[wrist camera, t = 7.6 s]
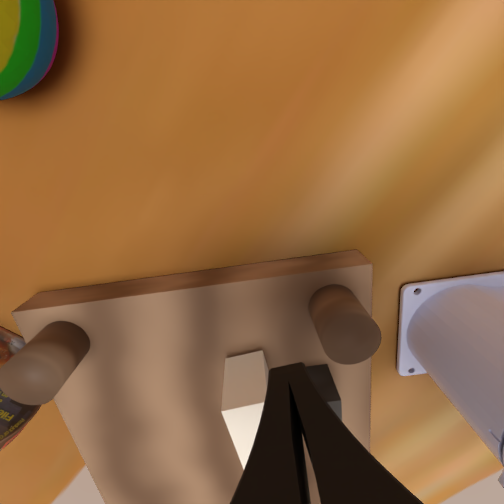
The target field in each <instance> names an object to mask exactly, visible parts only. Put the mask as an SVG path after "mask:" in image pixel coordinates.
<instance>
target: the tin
mask: <svg viewBox="0 0 504 504" xmlns="http://www.w3.org/2000/svg"><path fill="white" fill-rule="evenodd" d="M25 345H26V342H25V340H24V338H23V337H21V336H19V335H17V334H15V333H13V332H11V331H8V330H7V329H4V328H2V327H0V368H1V367H2V366H3V365H4V364H5V363H6V362H7V361H8V360H9V359H11V358H12V357H13V356H14V355H15V354H16V353H17V352H18V351H19V350H20V349H21V348H23V347H24V346H25ZM41 405H42V404H41ZM41 405H26V404H22V403H19V402H16V401H14V400H12V399H11V398H9V397H8V396H7V395H5V394H4V393H3V391H2V390H1V389H0V451H1V450H2V449H3V448H4V447H6V446H7V445H8V444H9V443H10V442H11V441H12V440H13V439H14V438H15V437H16V436H17V435H18V434H19V433H20V432H21V431H22V430H23V428H24V427H25V426H26V425H27V423H28V422H29V421H30V420H31V419H32V418H33V416H34V415H35V414H36V413H37V411H38V410H39V408H40V407H41Z"/></svg>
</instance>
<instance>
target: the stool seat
mask: <svg viewBox="0 0 504 504" xmlns="http://www.w3.org/2000/svg"><path fill="white" fill-rule="evenodd" d="M11 314H12V316H13V318H14V320H15V322H16V324H17V326H18V328H19V330H20V332H21V334H22V336H23V338H24V340H25V342H26V345H25V346H24V347H23V348H21V349H20V350H19V351H18V352H17V353H16V354H15V355H14V356H13V357H12V358H11V359H9V360H8V361H7V362H6V363H5V364H4V365H3V366H2V367H1V368H0V389H1V390H2V391H3V393H4V394H5V395H7V396H8V397H9V398H11V399H12V400H14V401H16V402H19V403H22V404H26V405H41V404H45V403H47V402H49V401H51V400H52V399H54V401H55V403H56V405H57V407H58V409H59V411H60V413H61V415H62V417H63V419H64V421H65V423H66V425H67V427H68V429H69V431H70V433H71V435H72V437H73V439H74V441H75V443H76V445H77V448H78V450H79V452H80V454H81V456H82V458H83V460H84V462H85V464H86V466H87V468H88V470H89V471H90V474H91V476H92V478H93V480H94V482H95V484H96V486H97V488H98V490H99V492H100V494H101V496H102V498H103V500H104V502H105V504H230V502H231V500H232V497H233V495H234V493H235V490H236V488H237V486H238V483H239V481H240V479H241V476H242V474H243V471H244V469H243V466H242V464H241V461H240V459H239V456H238V454H237V451H236V448H235V446H234V443H233V441H232V438H231V435H230V433H229V430H228V428H227V425H226V423H225V420H224V417H223V415H222V412H221V408H222V395H223V383H224V370H225V359H226V358H230V357H235V356H239V355H244V354H248V353H252V352H257V351H261V350H263V353H264V357H265V360H266V364H267V367H268V370H270V369H271V368H276V367H280V366H285V365H289V364H294V363H298V362H302V363H304V364H305V366H306V368H307V371H308V373H309V375H310V376H311V378H312V380H313V382H314V383H315V385H316V386H317V388H318V390H319V391H320V393H321V394H322V396H323V397H324V398H325V400H326V401H327V403H328V404H329V405H330V407H331V408H332V409H333V411H334V412H335V413H336V415H337V416H338V417H339V418H340V420H341V421H342V422H343V423H344V424H345V426H346V427H347V428H348V429H349V430H350V432H351V433H352V434H353V435H354V436H355V437H356V439H357V440H358V441H359V442H360V443H361V444H362V445H363V446H364V447H365V448H366V449H367V450H368V452H369V453H370V411H371V356H372V355H373V354H374V353H375V352H376V351H377V349H378V347H379V345H380V342H381V331H380V329H379V327H378V325H377V324H376V323H375V321H374V320H373V319H372V263H371V262H370V261H369V260H368V259H367V258H366V257H364V256H363V255H362V254H361V253H360V252H359V251H358V250H350V251H343V252H335V253H328V254H320V255H313V256H306V257H298V258H291V259H284V260H276V261H269V262H262V263H254V264H247V265H239V266H232V267H225V268H217V269H210V270H203V271H195V272H188V273H180V274H173V275H166V276H158V277H151V278H144V279H136V280H129V281H122V282H114V283H107V284H99V285H92V286H85V287H77V288H70V289H63V290H55V291H48V292H40V293H37V294H36V295H34V296H33V297H32V298H30V299H29V300H28V301H26V302H25V303H23V304H22V305H21V306H19V307H18V308H16V309H15V310H14V311H12V312H11ZM302 437H303V434H302ZM303 445H304V452H305V460H306V468H307V476H308V484H309V492H310V500H311V504H321V502H320V497H319V492H318V487H317V483H316V478H315V474H314V470H313V467H312V464H311V460H310V457H309V454H308V450H307V447H306V444H305V441H304V437H303Z"/></svg>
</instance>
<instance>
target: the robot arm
mask: <svg viewBox="0 0 504 504" xmlns="http://www.w3.org/2000/svg"><path fill="white" fill-rule="evenodd" d="M417 288H418V290H417V291H416V292H414V290H415V289H417ZM410 368H411V369H410ZM397 372H398V373H399V374H400V375H401V376H409V375H416V374H424V373H428V374H429V375H430V377H431V378H432V379H433V380H434V382H435V383H436V384H437V385H438V387H439V388H440V389H441V390H442V391H443V393H444V394H445V395H446V396H447V398H448V399H449V400H450V401H451V403H452V404H453V405H454V406H455V407H456V409H457V410H458V411H459V412H460V414H461V415H462V416H463V417H464V419H465V420H466V421H467V422H468V423H469V425H470V426H471V427H472V428H473V430H474V431H475V432H476V433H477V434H478V436H479V437H480V438H481V439H482V441H483V442H484V443H485V444H486V446H487V447H488V448H489V449H490V450H491V452H492V453H493V454H494V455H495V457H496V458H497V459H498V460H499V462H500V463H501V464H502V465H503V466H504V271H501V272H493V273H486V274H478V275H471V276H463V277H456V278H448V279H441V280H433V281H426V282H418V283H411V284H406V285H404V286H403V287H402V288H401V295H400V314H399V333H398V353H397ZM302 434H303V437H304V441H305V444H306V447H307V450H308V454H309V457H310V460H311V464H312V467H313V470H314V474H315V478H316V483H317V487H318V492H319V497H320V502H321V504H424V503H422V502H421V501H420V500H419V499H418V498H417V497H416V496H414V495H413V494H412V493H411V492H410V491H409V490H408V489H407V488H406V487H405V486H403V485H402V484H401V483H400V482H399V481H398V480H397V479H396V478H395V477H394V476H393V475H392V474H391V473H390V472H389V471H387V470H386V469H385V468H384V467H383V466H382V465H381V464H380V463H379V462H378V461H377V460H376V459H375V458H374V457H373V456H372V455H371V454H370V453H369V452H368V450H367V449H366V448H365V447H364V446H363V445H362V444H361V443H360V442H359V441H358V440H357V439H356V437H355V436H354V435H353V434H352V433H351V432H350V430H349V429H348V428H347V427H346V426H345V424H344V423H343V422H342V421H341V420H340V418H339V417H338V416H337V415H336V413H335V412H334V411H333V409H332V408H331V407H330V405H329V404H328V403H327V401H326V400H325V398H324V397H323V396H322V394H321V393H320V391H319V390H318V388H317V386H316V385H315V383H314V382H313V380H312V378H311V376H310V375H309V373H308V371H307V368H306V366H305V364H304V363H302V362H298V363H294V364H289V365H285V366H280V367H276V368H271V369H270V370H269V373H268V384H267V391H266V397H265V402H264V406H263V410H262V415H261V419H260V423H259V426H258V429H257V433H256V436H255V440H254V443H253V446H252V449H251V452H250V455H249V458H248V461H247V463H246V466H245V469H244V471H243V474H242V476H241V479H240V481H239V483H238V486H237V488H236V490H235V493H234V495H233V497H232V500H231V502H230V504H311V500H310V492H309V484H308V476H307V468H306V460H305V452H304V445H303V437H302ZM498 481H499V482H500V484H501V485H502V486H503V488H504V469H503V472H502V474H501V476H500V477H499V479H498Z"/></svg>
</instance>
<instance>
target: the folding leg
mask: <svg viewBox="0 0 504 504" xmlns="http://www.w3.org/2000/svg"><path fill="white" fill-rule="evenodd" d="M268 373H269V370H268V367H267V364H266V360H265V357H264V353H263V350H261V351H257V352H252V353H248V354H244V355H239V356H235V357H230V358H226V359H225V370H224V383H223V395H222V408H221V412H222V415H223V417H224V420H225V423H226V425H227V428H228V430H229V433H230V435H231V438H232V441H233V443H234V446H235V448H236V451H237V454H238V456H239V459H240V461H241V464H242V466H243V469H245V466H246V463H247V461H248V458H249V455H250V452H251V449H252V446H253V443H254V440H255V436H256V433H257V429H258V426H259V423H260V419H261V415H262V410H263V406H264V402H265V397H266V391H267V384H268Z"/></svg>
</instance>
